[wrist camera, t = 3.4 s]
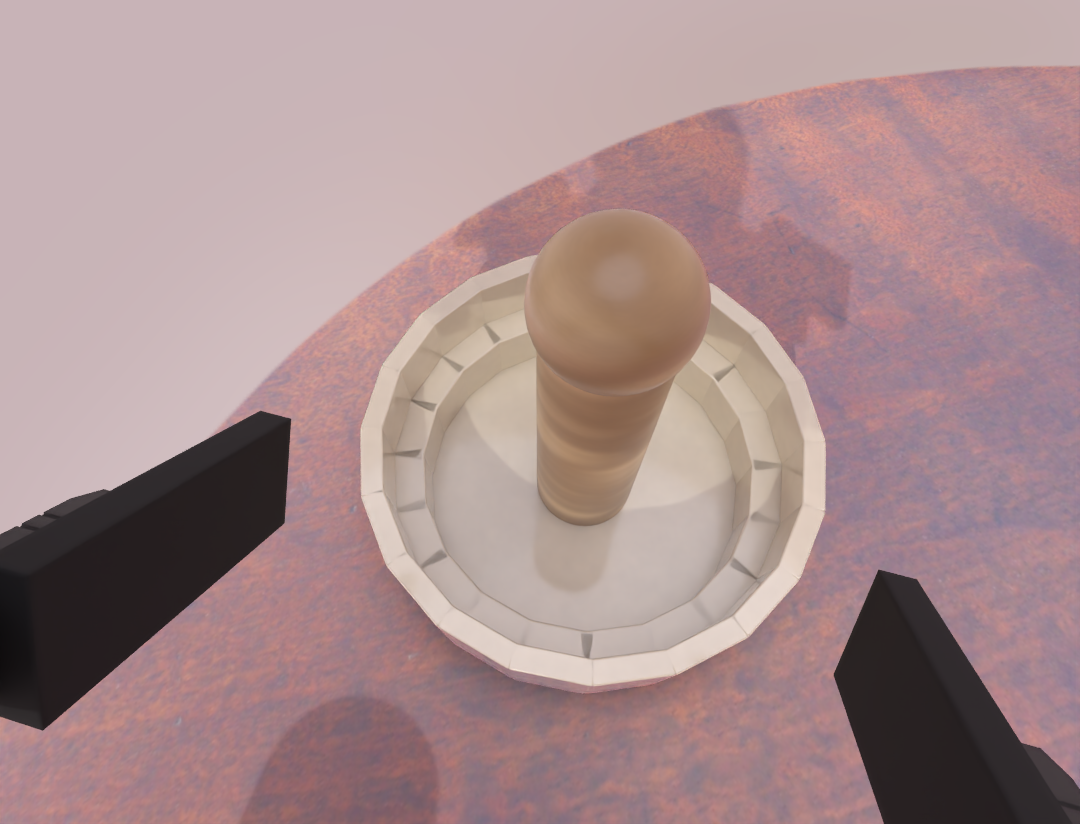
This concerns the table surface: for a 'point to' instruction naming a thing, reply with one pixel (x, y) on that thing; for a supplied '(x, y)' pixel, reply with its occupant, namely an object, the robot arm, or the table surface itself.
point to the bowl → (599, 550)
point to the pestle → (608, 351)
